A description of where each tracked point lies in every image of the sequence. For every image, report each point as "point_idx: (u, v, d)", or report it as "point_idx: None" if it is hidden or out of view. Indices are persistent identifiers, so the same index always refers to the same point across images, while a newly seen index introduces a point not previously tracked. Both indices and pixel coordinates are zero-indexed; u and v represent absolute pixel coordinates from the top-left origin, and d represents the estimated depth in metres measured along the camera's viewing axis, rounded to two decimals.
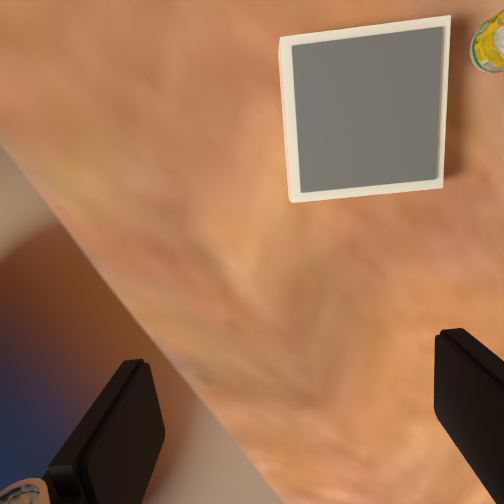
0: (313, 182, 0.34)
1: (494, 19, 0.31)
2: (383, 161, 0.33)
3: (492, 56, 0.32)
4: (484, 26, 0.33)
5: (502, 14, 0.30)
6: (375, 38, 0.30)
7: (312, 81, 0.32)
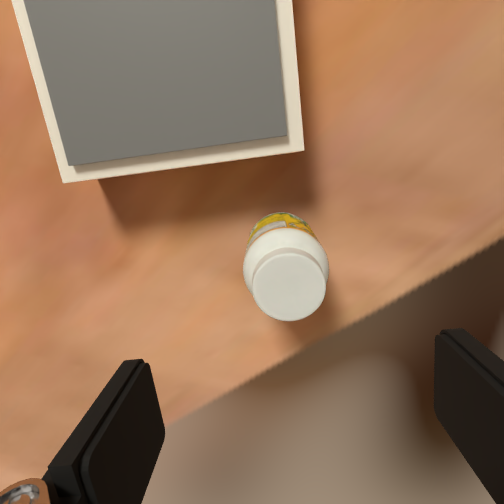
0: None
1: (302, 223, 0.23)
2: (80, 66, 0.19)
3: (256, 229, 0.23)
4: (299, 219, 0.24)
5: (304, 226, 0.22)
6: (270, 19, 0.18)
7: None
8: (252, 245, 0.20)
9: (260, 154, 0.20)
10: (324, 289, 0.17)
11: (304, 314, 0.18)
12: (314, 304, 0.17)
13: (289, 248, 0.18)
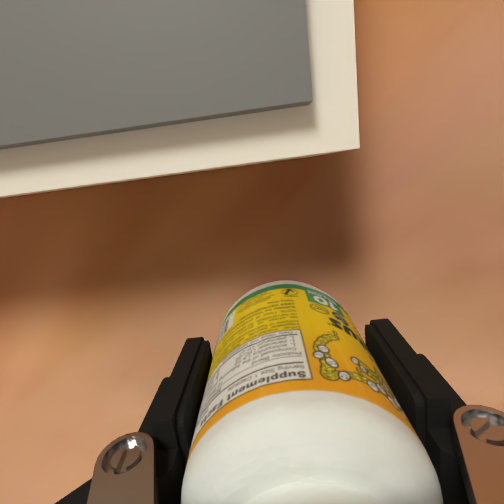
0: None
1: (340, 324, 0.10)
2: None
3: (230, 337, 0.10)
4: (327, 303, 0.11)
5: (349, 343, 0.08)
6: None
7: None
8: (206, 443, 0.06)
9: (233, 159, 0.07)
10: None
11: None
12: None
13: None
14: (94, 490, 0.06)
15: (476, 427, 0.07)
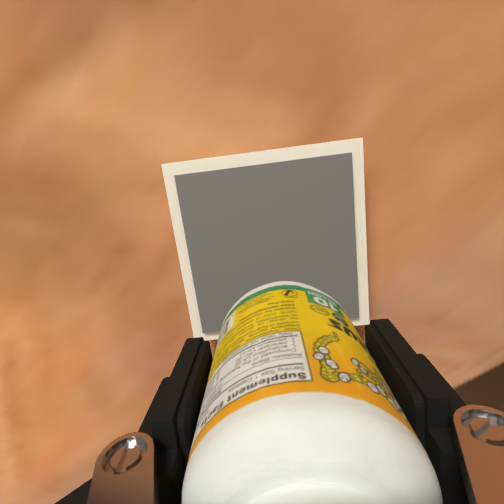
0: (189, 191, 0.26)
1: (340, 325, 0.10)
2: (219, 274, 0.28)
3: (231, 338, 0.10)
4: (327, 304, 0.11)
5: (349, 345, 0.08)
6: (352, 251, 0.27)
7: (310, 181, 0.25)
8: (206, 445, 0.06)
9: None
10: None
11: None
12: None
13: None
14: (94, 490, 0.06)
15: (476, 427, 0.07)
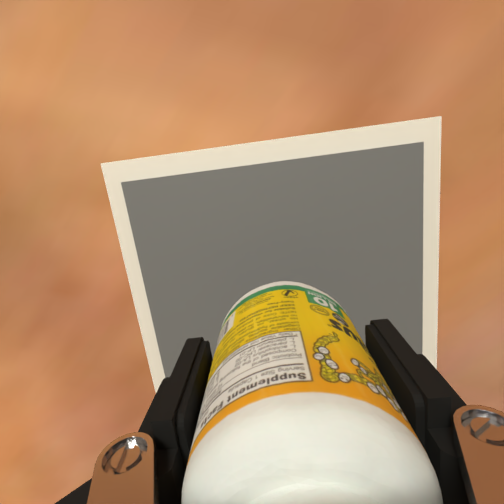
0: (146, 208, 0.16)
1: (340, 325, 0.10)
2: None
3: (231, 338, 0.10)
4: (327, 304, 0.11)
5: (349, 345, 0.08)
6: (416, 304, 0.16)
7: (349, 192, 0.15)
8: (206, 445, 0.06)
9: None
10: None
11: None
12: None
13: None
14: (94, 490, 0.06)
15: (476, 427, 0.07)
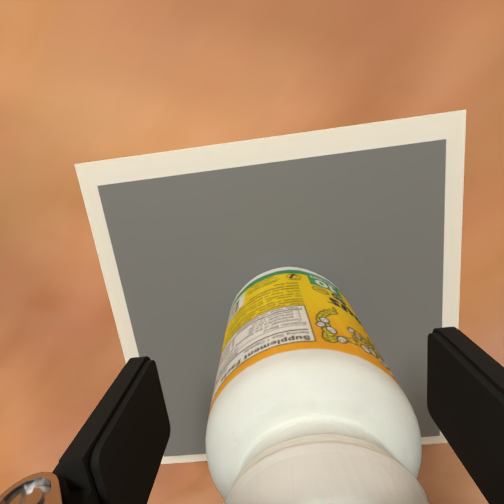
0: (127, 215, 0.14)
1: (338, 303, 0.11)
2: (189, 362, 0.15)
3: (242, 314, 0.11)
4: (327, 286, 0.12)
5: (346, 318, 0.10)
6: (435, 324, 0.14)
7: (360, 197, 0.13)
8: (228, 392, 0.08)
9: None
10: None
11: None
12: None
13: (336, 451, 0.06)
14: None
15: None
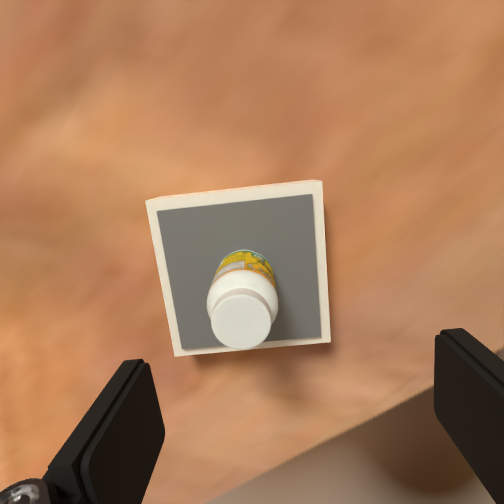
0: (169, 225, 0.29)
1: (261, 262, 0.27)
2: (196, 297, 0.31)
3: (221, 266, 0.27)
4: (259, 257, 0.28)
5: (261, 266, 0.26)
6: (314, 278, 0.30)
7: (276, 218, 0.29)
8: (214, 283, 0.23)
9: (303, 343, 0.33)
10: (269, 324, 0.21)
11: (253, 344, 0.21)
12: (261, 336, 0.21)
13: (242, 289, 0.21)
14: None
15: None
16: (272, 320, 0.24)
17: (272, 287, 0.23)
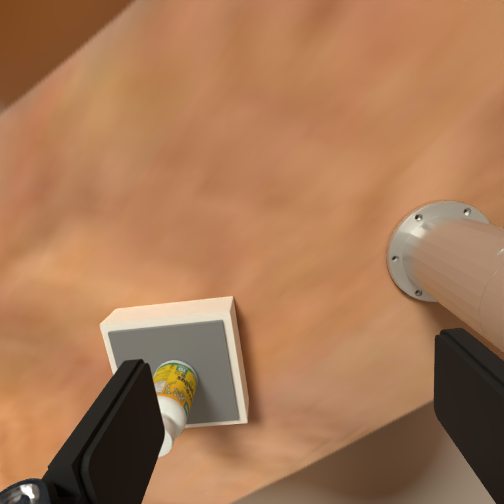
0: (118, 342, 0.39)
1: (180, 378, 0.36)
2: None
3: None
4: (182, 370, 0.38)
5: (178, 384, 0.35)
6: (229, 379, 0.40)
7: (196, 338, 0.39)
8: None
9: (226, 424, 0.42)
10: (171, 442, 0.31)
11: (161, 454, 0.31)
12: (166, 450, 0.31)
13: None
14: None
15: None
16: (181, 430, 0.33)
17: (180, 408, 0.33)
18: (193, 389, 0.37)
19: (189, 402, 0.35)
